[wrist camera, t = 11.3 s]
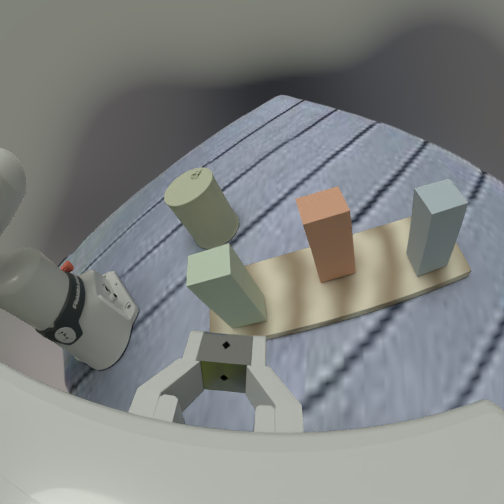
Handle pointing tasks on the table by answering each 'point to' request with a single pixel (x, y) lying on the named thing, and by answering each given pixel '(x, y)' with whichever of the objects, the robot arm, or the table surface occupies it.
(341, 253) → the terracotta key
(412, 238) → the slate key
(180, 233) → the table surface
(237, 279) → the sage key
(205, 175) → the can
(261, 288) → the wooden board
